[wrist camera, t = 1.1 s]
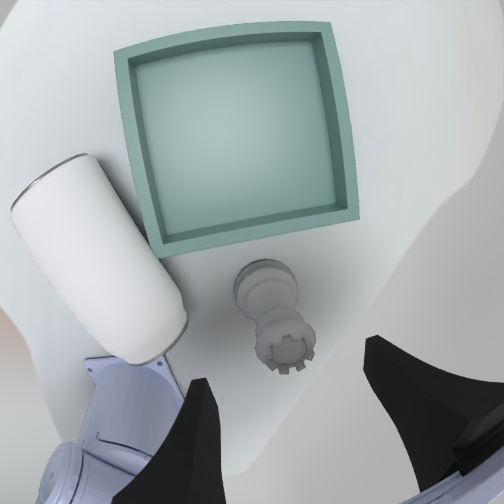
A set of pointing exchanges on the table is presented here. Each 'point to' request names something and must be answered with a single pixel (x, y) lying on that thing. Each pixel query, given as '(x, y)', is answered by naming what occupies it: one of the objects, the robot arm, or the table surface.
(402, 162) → the table surface
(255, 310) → the rook chess piece
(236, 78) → the tray
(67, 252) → the can
